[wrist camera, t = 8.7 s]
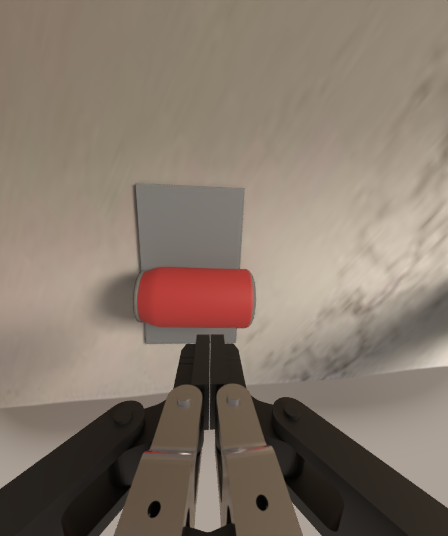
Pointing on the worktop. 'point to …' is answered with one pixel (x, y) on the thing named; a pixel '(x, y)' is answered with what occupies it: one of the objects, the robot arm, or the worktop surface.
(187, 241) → the slate mat
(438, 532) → the robot arm
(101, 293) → the worktop surface
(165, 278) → the beer can
